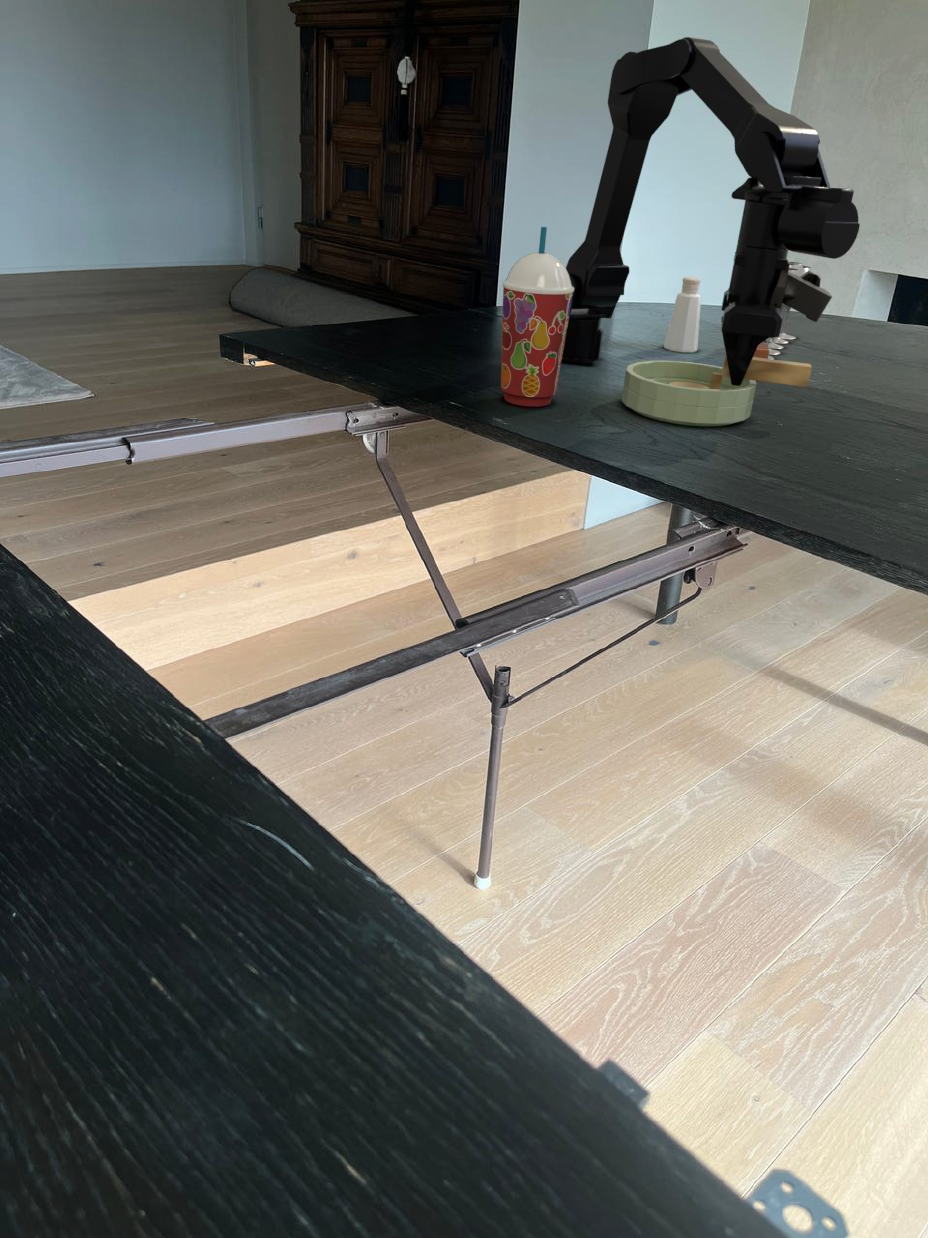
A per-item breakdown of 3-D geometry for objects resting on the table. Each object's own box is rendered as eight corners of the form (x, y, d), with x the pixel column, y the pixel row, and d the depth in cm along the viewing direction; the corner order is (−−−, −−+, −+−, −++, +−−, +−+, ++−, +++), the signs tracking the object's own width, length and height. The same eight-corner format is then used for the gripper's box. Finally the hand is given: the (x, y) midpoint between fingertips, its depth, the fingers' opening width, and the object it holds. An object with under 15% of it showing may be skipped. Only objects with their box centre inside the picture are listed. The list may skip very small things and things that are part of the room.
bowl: (615, 418, 113) (621, 380, 111) (627, 389, 127) (632, 355, 125) (750, 435, 111) (758, 396, 109) (747, 404, 124) (754, 369, 122)
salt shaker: (682, 353, 152) (694, 280, 147) (656, 346, 155) (667, 275, 150) (704, 351, 155) (716, 279, 150) (678, 344, 158) (689, 274, 153)
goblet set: (775, 362, 150) (794, 273, 144) (738, 356, 152) (756, 269, 146) (801, 336, 173) (818, 259, 167) (768, 332, 175) (784, 255, 169)
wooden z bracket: (663, 408, 117) (673, 352, 114) (666, 398, 121) (675, 344, 118) (799, 426, 114) (813, 369, 111) (796, 415, 118) (809, 361, 115)
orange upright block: (742, 377, 139) (748, 347, 137) (741, 370, 143) (747, 341, 141) (763, 379, 138) (769, 350, 136) (762, 372, 143) (768, 344, 141)
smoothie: (568, 398, 120) (587, 228, 111) (551, 414, 113) (571, 233, 104) (504, 389, 123) (519, 221, 113) (484, 403, 115) (498, 225, 106)
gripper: (845, 261, 99) (810, 410, 106) (828, 245, 116) (798, 375, 123) (736, 251, 101) (709, 397, 108) (734, 237, 118) (710, 365, 125)
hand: (735, 383), depth 116 cm, fingers closed on wooden z bracket
